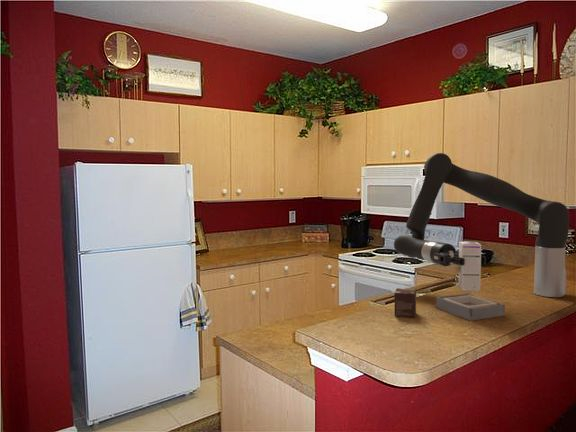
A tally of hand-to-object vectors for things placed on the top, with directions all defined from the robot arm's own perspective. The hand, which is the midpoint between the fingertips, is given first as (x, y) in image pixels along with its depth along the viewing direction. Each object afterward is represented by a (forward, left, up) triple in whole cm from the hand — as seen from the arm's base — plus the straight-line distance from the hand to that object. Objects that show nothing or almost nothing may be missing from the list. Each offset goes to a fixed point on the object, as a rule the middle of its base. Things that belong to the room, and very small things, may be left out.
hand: (474, 261), depth 136 cm
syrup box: (0, -2, -9) cm, 9 cm away
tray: (0, -2, -16) cm, 16 cm away
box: (+20, -7, -16) cm, 27 cm away
